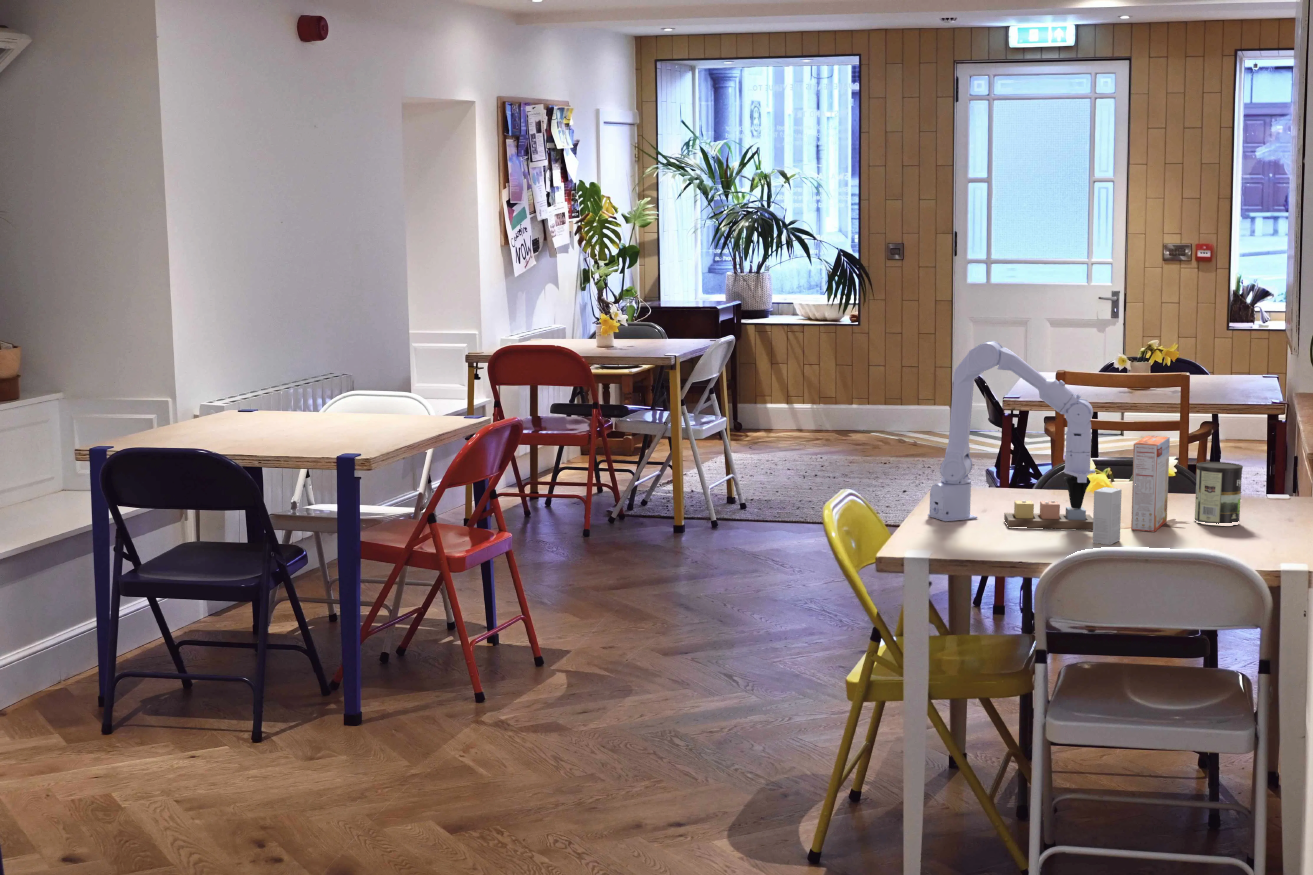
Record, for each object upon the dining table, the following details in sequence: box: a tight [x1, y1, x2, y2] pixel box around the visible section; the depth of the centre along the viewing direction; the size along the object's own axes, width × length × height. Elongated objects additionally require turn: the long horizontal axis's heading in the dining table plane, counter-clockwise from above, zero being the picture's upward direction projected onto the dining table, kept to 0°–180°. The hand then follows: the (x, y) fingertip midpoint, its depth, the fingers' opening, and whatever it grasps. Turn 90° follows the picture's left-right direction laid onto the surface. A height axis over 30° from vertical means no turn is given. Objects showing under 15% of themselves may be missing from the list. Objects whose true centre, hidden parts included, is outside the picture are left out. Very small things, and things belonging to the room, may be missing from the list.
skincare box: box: [1092, 486, 1122, 546], centre depth 313 cm, size 6×4×12 cm
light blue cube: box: [1065, 506, 1087, 520], centre depth 331 cm, size 4×4×4 cm
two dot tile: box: [1039, 500, 1061, 519], centre depth 331 cm, size 4×4×4 cm
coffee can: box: [1194, 461, 1244, 524], centre depth 334 cm, size 10×10×14 cm
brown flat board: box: [1003, 512, 1093, 531], centre depth 332 cm, size 20×9×2 cm, turn 82°
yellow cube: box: [1013, 500, 1035, 518], centre depth 332 cm, size 4×4×4 cm
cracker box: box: [1130, 435, 1171, 533], centre depth 329 cm, size 14×6×21 cm, turn 149°
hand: (1075, 507), depth 330 cm, fingers closed, pressing on light blue cube
